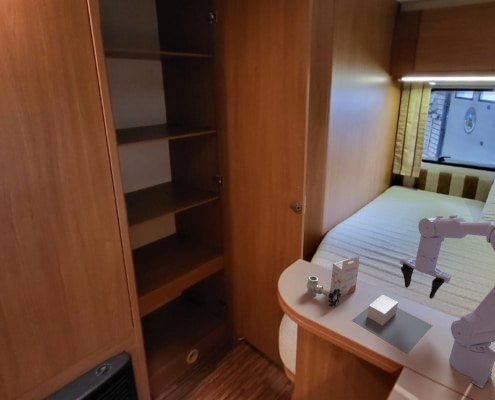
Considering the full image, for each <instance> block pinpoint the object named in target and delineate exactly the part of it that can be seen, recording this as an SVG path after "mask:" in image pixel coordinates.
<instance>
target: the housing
mask: <svg viewBox="0 0 495 400" xmlns="http://www.w3.org/2000/svg"><path fill="white" fill-rule="evenodd" d="M398 304H399V302H398V301H397V300H394V299H392V298H391V297H388V296H386V295H384V294H382V295H380V296H379V297H377V299H375V300H374V301H372V302H371V303H370V304H369V305H368V307H369V308H368V307H367V308H368V314H367V317H368V318H370V319H372V320H374V321H375V322H377V323H379V324H381V325H382V326H383V325H384V324H385V323H386V322H387V321H388V320H389V319H390V318H391V317H393V316H394V315H395V314H396V311H397V307H398V306H399V305H398Z"/></svg>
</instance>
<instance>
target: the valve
mask: <svg viewBox="0 0 495 400" xmlns="http://www.w3.org/2000/svg"><path fill="white" fill-rule="evenodd" d="M306 288H307V291H306V294H307V295H308V296H310V297H316V296H317V294H318V295H321V294H322V295H323V296H324V297H325V296H326V297H327V298H329V299H328V303H329V305H328V306H329V307H331V308H333V307H336V306H337V303H339V302H340V299H339V298H340V297H342V296H341V293H340V291H341V290H340V289H337V290H336V289H335V290H334V292H329V290H326V289H324V286H322V285H319V277H317V276H316V275H310V276H308V281H307V284H306ZM336 294H337V295H336Z"/></svg>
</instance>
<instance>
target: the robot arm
mask: <svg viewBox="0 0 495 400" xmlns="http://www.w3.org/2000/svg"><path fill="white" fill-rule="evenodd" d="M418 232H419V234H420V238H419V243H418V247H417V252H416V257H415V259H412V258H408V257H405V256H403V257H401V258H400V260H399V265H402V266H401V267H400V271H401V273H402V275H403V280H404V281H403V282H404V288H406V289H407V288H408V287H410V285H411V282H412V277H413V273H414V270H416V271H417V272H420V273H421V274H425V275H429V276H431V277H434V279H433V280H432V281H431V290H430V293H429V297H428V298H429V299H430V300H433V299H434V298H435V295H436V293H437V292H438V290H439V289H440V288H441V287H442V285H443V284H444V283H445V284H448V283H450V281H451V278H452V275H451V274H449V273H447V272H444V271H443V270H442V269H440V268H438V267H437V262H438V260H439V259H438V258H439V255H440V251H441V247H442V243H443V242H444V240H445V239H446V238H447V239H457V240H458V239H463V238H466V236H467V235H471V236H479V237H481V236H483V237H486V238H485V239H486V243H487V244H491V247H492V249H493V251H494V252H495V221H469V222H467V220H466V219H464V218H462V217H458V215H449V216H448V217H443V215H437V216H436V217H425V218H422V219H421V220H420V221H419V222H418ZM450 331H451V335H452V338H453V339H454V341H453V344H452V348H451V352H450V355H449V359H448V362H449V365H451V366H452V368H453V369H454V370H456V371H457V372H458V373H460V374H462V375H464V376H467V377H469V378H472V379H471V381H470V383H471V384H473V385H475V386H477V387H478V388H480V389H484V387H485V385H486V383H487V381H488V379H491V378H492V373H493V371H492V370H493V368H494V365H495V351H494V350H493V349H492V348H490V347H491V344H492V343H495V285H494V286H493V288H492V289H490V291H489V292H488V294H487V295H486V296H485V297H484V298H483V299H482V301H481V302H480V303H479V305H478V306H477V307H476V308H475V309H474V310H473V311H471V312H469V313H467V314H465V315H464V316H462V317H461V318H460V319H458V320H453V322H451V325H450Z"/></svg>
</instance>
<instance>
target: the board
mask: <svg viewBox="0 0 495 400" xmlns="http://www.w3.org/2000/svg"><path fill="white" fill-rule="evenodd" d="M368 308H369V306H368V307H367V308H366V309H364V310H363V311H362V312H360V313H359V314H358V315H357V316H355V317H354V318H353V319H351V321H352V322H354V323H356V325H358V326H360V327H362V328H363V329H366V331H368V332H370V333H371V334H374V335H376V337H379V338H380V339H381V340H384V341H385V342H387V343H388V344H390V345H392V346H394V347H396V348H397V349H399V350H400V351H402V352H404V353H406V354H408V353H409V352H410V351H411V350H412V349H413V348H414V347H415V346H416V344H418V343H419V341H420V340H422V338H423V337H424V336H425V334H427V333H428V332H429V330H431V328H432V327H433V324H431V323H429V322H427V321H425V320H423V319H421V318H419V317H417V316H415V315H413V314H411V313H409V312H408V311H405V310H403V309H402V308H399V307H398V306H397V311H396V314H395V315H394V316H393V317H391V318H390V319H389V320H388V321H387V322H386V323H385V324H384V325H383V326H382V325H381V324H379V323H377V322H375V321H374V320H372V319H370V318H368V317H367V314H368Z"/></svg>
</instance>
